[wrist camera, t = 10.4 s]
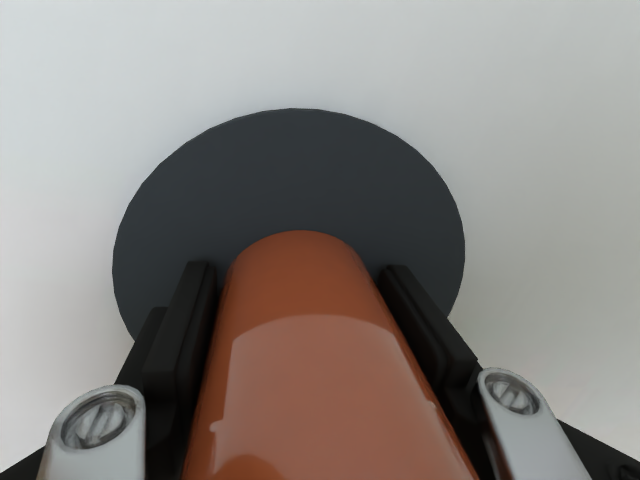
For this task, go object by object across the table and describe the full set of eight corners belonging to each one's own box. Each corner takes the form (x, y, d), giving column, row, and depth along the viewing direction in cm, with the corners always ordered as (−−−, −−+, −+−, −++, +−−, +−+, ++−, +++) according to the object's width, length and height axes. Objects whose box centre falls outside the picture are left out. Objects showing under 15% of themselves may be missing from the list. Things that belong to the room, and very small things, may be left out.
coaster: (86, 83, 8) (72, 83, 7) (502, 128, 10) (515, 131, 9) (143, 405, 12) (138, 419, 12) (414, 390, 14) (420, 402, 14)
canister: (217, 225, 9) (108, 556, 3) (383, 232, 10) (584, 494, 4) (221, 355, 11) (163, 713, 5) (358, 351, 12) (459, 650, 6)
